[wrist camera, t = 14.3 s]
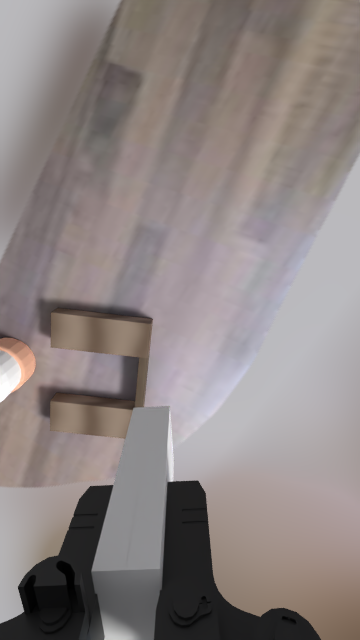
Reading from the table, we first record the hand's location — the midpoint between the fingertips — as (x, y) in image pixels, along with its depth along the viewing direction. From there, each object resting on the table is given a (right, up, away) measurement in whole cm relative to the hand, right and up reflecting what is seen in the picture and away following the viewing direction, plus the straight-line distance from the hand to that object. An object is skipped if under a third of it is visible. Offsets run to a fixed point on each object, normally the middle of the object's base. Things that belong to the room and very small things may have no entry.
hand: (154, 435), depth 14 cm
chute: (-11, -3, +35) cm, 37 cm away
